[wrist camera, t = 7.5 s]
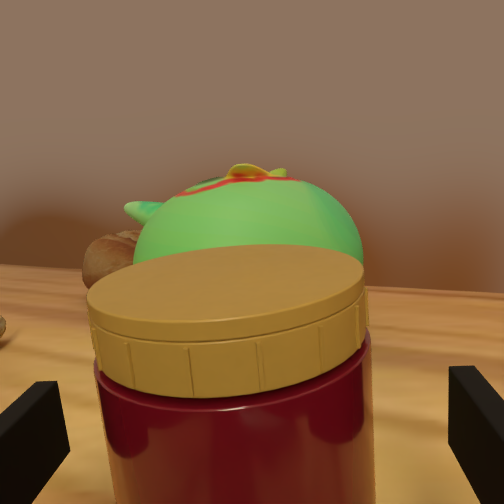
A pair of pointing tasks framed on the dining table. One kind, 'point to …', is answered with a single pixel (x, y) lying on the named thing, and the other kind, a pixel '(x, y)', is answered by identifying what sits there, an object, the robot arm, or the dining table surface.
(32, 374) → the dining table surface
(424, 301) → the dining table surface
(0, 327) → the croissant
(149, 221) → the toy bird
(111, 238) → the bread roll
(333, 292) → the jam lid
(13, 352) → the dining table surface
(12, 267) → the dining table surface
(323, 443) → the jam jar
